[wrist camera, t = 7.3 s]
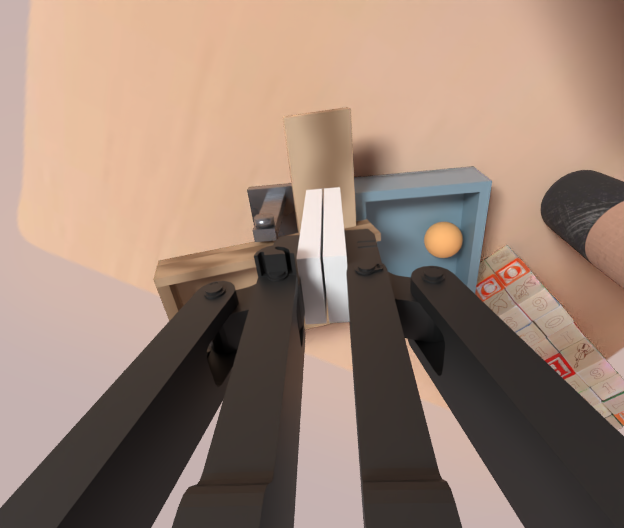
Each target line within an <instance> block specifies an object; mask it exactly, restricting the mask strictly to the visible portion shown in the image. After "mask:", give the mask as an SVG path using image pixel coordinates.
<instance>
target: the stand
mask: <svg viewBox="0 0 624 528" xmlns="http://www.w3.org/2000/svg"><path fill="white" fill-rule="evenodd" d="M247 192H248V197H249V202H250V207H251V212H252V217H253V222H254V228H253V235H254V240H255V242H264V241H276V240H277V238H278V237H280V236H286V235H291V234H296V233H298V227H297V220H296V212H295V205H294V197H293V190H292V183H288V184H278V185H267V186H256V187H249V188H248V189H247Z"/></svg>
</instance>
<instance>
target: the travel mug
mask: <svg viewBox="0 0 624 528" xmlns="http://www.w3.org/2000/svg"><path fill="white" fill-rule="evenodd" d="M541 215H542V218H543V220H544V222H545V223H546V224H547V225H548V226H549V227H550V228H551V229H552V230H553V231H554V232H556V233H557V234H558V235H559V236H560V237H561V238H562V239H564V240H565V241H566V242H567V243H568V244H569V245H571V246H572V247H573V248H574V249H575V250H576V251H577V252H579V253H580V254H581V255H582V256H583V257H584V258H586V259H587V260H588V261H589V262H590V263H592V264H593V265H594V266H595V267H597V268H598V269H599V270H600V271H602V272H603V273H604V274H606V275H607V276H608V277H609V278H611V279H612V280H613V281H615V282H616V283H617V284H619V285H620V286H621V287H622V288H624V182H623V181H620V180H618V179H615V178H612V177H610V176H607V175H605V174H602V173H599V172H596V171H591V170H581V171H576V172H572V173H570V174H567V175H566V176H564V177H562V178H560V179H559V180H558V181H556V182H555V183H554V184H553V185H552V186H551V187H550V188H549V190H548V191H547V192H546V194H545V196H544V198H543V200H542V204H541Z"/></svg>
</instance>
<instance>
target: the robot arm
mask: <svg viewBox="0 0 624 528" xmlns="http://www.w3.org/2000/svg"><path fill="white" fill-rule="evenodd" d="M254 260H255V265H256V269H257V274H258V279H257V283H256V284H254V285H252V286H249V287H246V288H243V289H239V290H235V286H234V284H232V283H231V282H227V281H215V282H211V283H208V284H206V285H204V286H202V287H201V288H200V289H199V290H197V291H196V293H195V294H194V295H193V296H192V297H191V298H190V299H189V300H188V301H187V302H186V304H185V305H184V306H183V307H182V308H181V309H180V310H179V311H178V312H177V313H176V315H175V316H174V317H173V318H172V319H171V320H170V321H169V322H168V323H167V325H166V326H165V327H164V328H163V329H162V330H161V331H160V332H159V333H158V334H157V336H156V337H155V338H154V339H153V340H152V341H151V342H150V343H149V344H148V346H147V347H146V348H145V349H144V350H143V351H142V352H141V353H140V354H139V356H138V357H137V358H136V359H135V360H134V361H133V362H132V363H131V364H130V365H129V367H128V368H127V369H126V370H125V371H124V372H123V373H122V374H121V375H120V377H119V378H118V379H117V380H116V381H115V382H114V383H113V384H112V385H111V387H110V388H109V389H108V390H107V391H106V392H105V393H104V394H103V395H102V396H101V398H100V399H99V400H98V401H97V402H96V403H95V404H94V405H93V406H92V407H91V409H90V410H89V411H88V412H87V413H86V414H85V415H84V416H83V417H82V418H81V420H80V421H79V422H78V423H77V424H76V425H75V426H74V427H73V428H72V429H71V431H70V432H69V433H68V434H67V435H66V436H65V437H64V438H63V440H62V441H61V442H60V443H59V444H58V445H57V446H56V447H55V448H54V449H53V450H52V452H51V453H50V454H49V455H48V456H47V457H46V458H45V459H44V460H43V462H42V463H41V464H40V465H39V466H38V467H37V468H36V469H35V470H34V471H33V473H32V474H31V475H30V476H29V477H28V478H27V479H26V480H25V481H24V483H23V484H22V485H21V486H20V487H19V488H18V489H17V490H16V491H15V492H14V494H13V495H12V496H11V497H10V498H9V499H8V500H7V501H6V503H5V504H4V505H3V506H2V507H1V508H0V528H151V527H152V525H153V523H154V522H155V520H156V518H157V516H158V515H159V513H160V511H161V509H162V507H163V505H164V504H165V502H166V500H167V499H168V497H169V495H170V493H171V491H172V490H173V488H174V486H175V484H176V483H177V481H178V479H179V477H180V475H181V474H182V472H183V470H184V468H185V467H186V465H187V463H188V461H189V460H190V458H191V456H192V454H193V452H194V451H195V449H196V447H197V445H198V443H199V442H200V440H201V438H202V436H203V435H204V433H205V431H206V429H207V428H208V426H209V424H210V422H211V420H212V419H213V417H214V415H215V413H216V411H217V410H218V408H219V406H220V404H221V402H222V401H223V403H222V406H221V410H220V414H219V417H218V421H217V424H216V428H215V431H214V435H213V438H212V442H211V445H210V449H209V452H208V456H207V459H206V463H205V466H204V470H203V473H202V476H201V479H200V481H199V482H198V484H197V485H194V486H191V487H189V488H188V489H187V490H186V492H185V493H184V495H183V497H182V499H181V502H180V504H179V507H178V510H177V513H176V516H175V519H174V522H173V526H172V528H294V514H295V497H296V479H297V464H298V447H299V432H300V416H301V399H302V383H303V367H304V350H305V327H304V316H305V323H306V324H322V323H327V305H328V315H329V323H340V322H350V337H351V350H352V364H353V378H354V391H355V392H354V393H355V406H356V420H357V435H358V449H359V463H360V477H361V491H362V505H363V519H364V528H462V525H461V522H460V518H459V515H458V511H457V507H456V503H455V501H454V498H453V494H452V491H451V488H450V487H449V485H448V483H447V481H445V480H443V479H442V478H441V476H440V473H439V470H438V466H437V462H436V458H435V454H434V451H433V447H432V443H431V439H430V435H429V431H428V427H427V423H426V419H425V416H424V411H423V408H422V404H421V400H420V396H419V392H418V388H417V384H416V380H415V376H414V372H413V369H412V365H411V361H410V357H409V353H408V349H407V345H406V341H405V338H407V339H408V341H409V344H410V346H411V348H412V349H413V351H414V353H415V354H416V356H417V357H418V359H419V361H420V362H421V364H422V365H423V367H424V369H425V370H426V372H427V373H428V375H429V376H430V378H431V380H432V381H433V383H434V384H435V386H436V388H437V389H438V391H439V392H440V394H441V396H442V397H443V399H444V400H445V402H446V403H447V405H448V407H449V408H450V410H451V411H452V413H453V415H454V416H455V418H456V419H457V421H458V422H459V424H460V425H461V427H462V429H463V430H464V432H465V434H466V435H467V436H468V438H469V440H470V442H471V443H472V445H473V446H474V448H475V449H476V451H477V453H478V454H479V456H480V457H481V459H482V461H483V462H484V464H485V465H486V467H487V468H488V470H489V472H490V473H491V475H492V476H493V478H494V480H495V481H496V483H497V484H498V486H499V488H500V489H501V491H502V492H503V494H504V495H505V497H506V498H507V500H508V502H509V503H510V505H511V507H512V508H513V510H514V511H515V513H516V515H517V516H518V518H519V519H520V521H521V522H522V524H523V525H524V527H525V528H624V436H623V435H622V434H621V433H620V432H619V431H618V430H617V429H616V428H614V427H613V426H612V425H611V424H610V423H609V422H608V421H607V420H606V419H605V418H604V417H603V416H602V415H601V414H600V413H599V412H598V411H597V410H596V409H595V408H594V407H593V406H591V405H590V404H589V403H588V402H587V401H586V400H585V399H584V398H583V397H582V396H581V395H580V394H579V393H578V392H577V391H576V390H575V389H574V388H573V387H572V386H571V385H570V384H569V383H567V382H566V381H565V380H564V379H563V378H562V377H561V376H560V375H559V374H558V373H557V372H556V371H555V370H554V369H553V368H552V367H551V366H550V365H549V364H548V363H547V362H546V361H544V360H543V359H542V358H541V357H540V356H539V355H538V354H537V353H536V352H535V351H534V350H533V349H532V348H531V347H530V346H529V345H528V344H527V343H526V342H525V341H524V340H523V339H522V338H520V337H519V336H518V335H517V334H516V333H515V332H514V331H513V330H512V329H511V328H510V327H509V326H508V325H507V324H506V323H505V322H504V321H503V320H502V319H501V318H500V317H499V316H497V315H496V314H495V313H494V312H493V311H492V310H491V309H490V308H489V307H488V306H487V305H486V304H485V303H484V302H483V301H482V300H481V299H480V298H479V297H478V296H477V295H476V294H474V293H473V292H472V291H471V290H470V289H469V288H468V287H467V286H466V285H465V284H464V283H463V282H462V281H461V280H460V279H459V278H458V277H457V276H456V275H455V274H454V273H452V272H451V271H449V270H448V269H445V268H442V267H439V266H423V267H420V268H417V269H416V270H414V271H413V272H412V274H411V277H404V276H398V275H395V274H392V273H390V272H388V271H387V268H386V266H385V265H384V264H383V263H382V261H381V257H380V254H379V250H378V247H377V242H376V238H375V234H374V233H373V232H371V231H370V230H369V229H357V230H344V224H343V213H342V203H341V192H340V187H336V188H324V205H323V194H322V189H313V190H306V195H305V202H304V209H303V216H302V223H301V230H300V235H290V236H280V237H279V238H278V239H277V240H276V241H275V242H274V244H273V245H272V246H267V247H265V248H262V249H260V250H259V251H257V252H256V253H255V255H254Z"/></svg>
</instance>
